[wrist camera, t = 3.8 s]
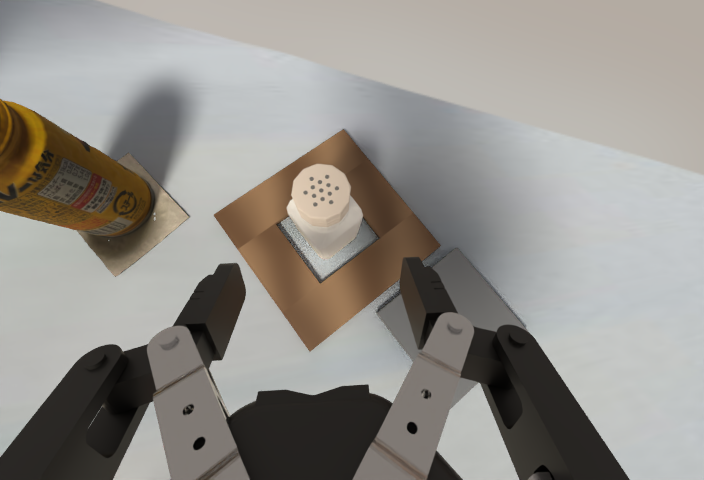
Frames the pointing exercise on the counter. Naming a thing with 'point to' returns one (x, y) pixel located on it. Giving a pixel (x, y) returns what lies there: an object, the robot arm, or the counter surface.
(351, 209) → the salt shaker
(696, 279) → the counter surface
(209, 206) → the counter surface
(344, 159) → the square wooden frame
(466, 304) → the coaster
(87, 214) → the condiment
